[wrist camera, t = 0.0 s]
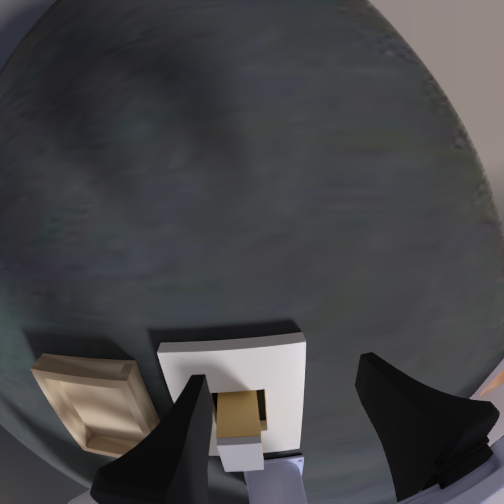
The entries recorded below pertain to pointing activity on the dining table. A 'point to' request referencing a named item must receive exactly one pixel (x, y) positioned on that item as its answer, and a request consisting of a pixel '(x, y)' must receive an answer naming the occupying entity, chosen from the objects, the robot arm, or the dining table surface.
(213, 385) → the socket block
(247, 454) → the block
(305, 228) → the dining table surface
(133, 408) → the parts tray
